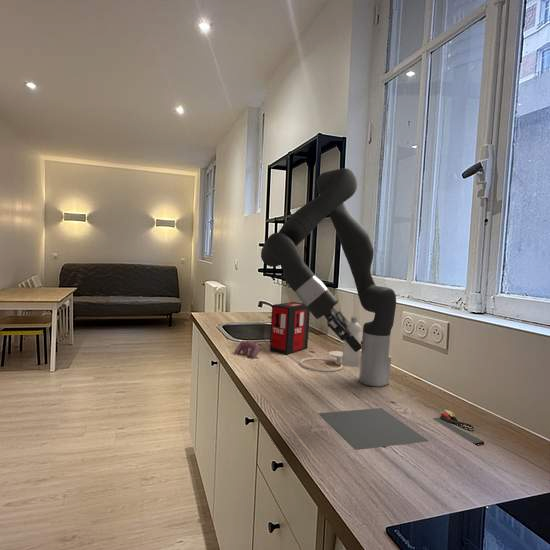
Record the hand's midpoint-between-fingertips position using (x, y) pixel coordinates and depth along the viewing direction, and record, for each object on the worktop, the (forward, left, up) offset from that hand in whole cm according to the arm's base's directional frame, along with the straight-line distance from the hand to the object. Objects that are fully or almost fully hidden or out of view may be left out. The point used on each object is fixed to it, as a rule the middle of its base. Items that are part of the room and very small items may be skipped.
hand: (359, 347), depth 105 cm
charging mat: (-2, +4, -20) cm, 21 cm away
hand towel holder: (-16, -50, -21) cm, 56 cm away
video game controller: (+11, -66, -20) cm, 70 cm away
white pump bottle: (+2, -1, -5) cm, 5 cm away
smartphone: (-22, +10, -21) cm, 32 cm away
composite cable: (-28, +6, -21) cm, 35 cm away
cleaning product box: (-9, -73, -20) cm, 76 cm away
